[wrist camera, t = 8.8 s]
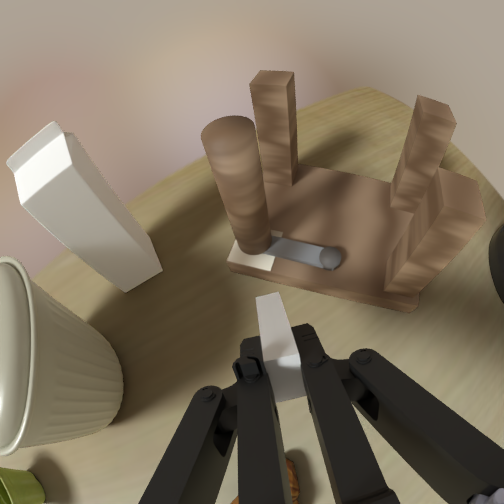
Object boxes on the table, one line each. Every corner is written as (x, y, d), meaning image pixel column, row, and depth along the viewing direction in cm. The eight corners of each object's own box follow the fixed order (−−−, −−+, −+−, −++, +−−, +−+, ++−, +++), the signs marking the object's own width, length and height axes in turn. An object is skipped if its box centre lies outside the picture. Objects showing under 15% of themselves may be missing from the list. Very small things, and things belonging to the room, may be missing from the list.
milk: (115, 259, 35) (11, 146, 16) (150, 237, 36) (58, 107, 16) (125, 294, 32) (-3, 182, 13) (164, 271, 33) (51, 133, 14)
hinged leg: (342, 248, 28) (371, 134, 15) (336, 279, 26) (368, 171, 13) (245, 225, 30) (214, 114, 18) (233, 253, 29) (191, 145, 16)
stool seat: (413, 202, 33) (452, 104, 18) (409, 313, 26) (496, 232, 12) (270, 172, 38) (255, 67, 24) (230, 271, 31) (181, 165, 17)
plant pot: (61, 517, 15) (22, 525, 7) (29, 505, 15) (-6, 508, 7) (41, 466, 20) (-1, 467, 12) (13, 458, 19) (-24, 456, 12)
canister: (121, 475, 20) (-28, 499, 2) (35, 397, 25) (-82, 361, 7) (172, 350, 28) (15, 266, 9) (74, 295, 33) (-34, 213, 14)
